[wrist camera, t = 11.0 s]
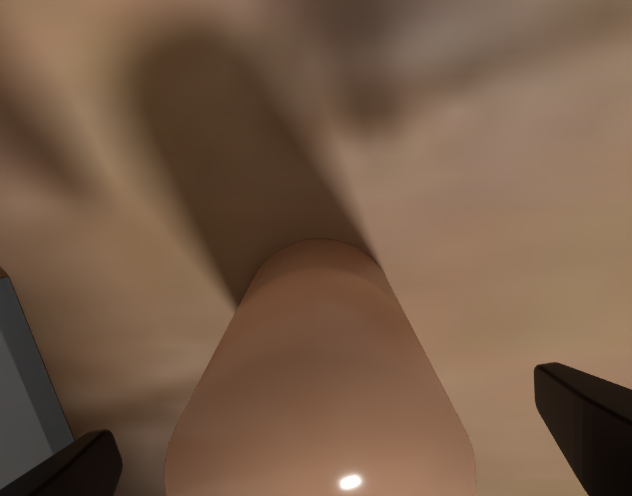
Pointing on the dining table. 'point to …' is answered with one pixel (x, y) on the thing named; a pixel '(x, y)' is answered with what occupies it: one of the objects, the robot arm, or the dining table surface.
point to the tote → (25, 396)
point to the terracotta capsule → (319, 392)
